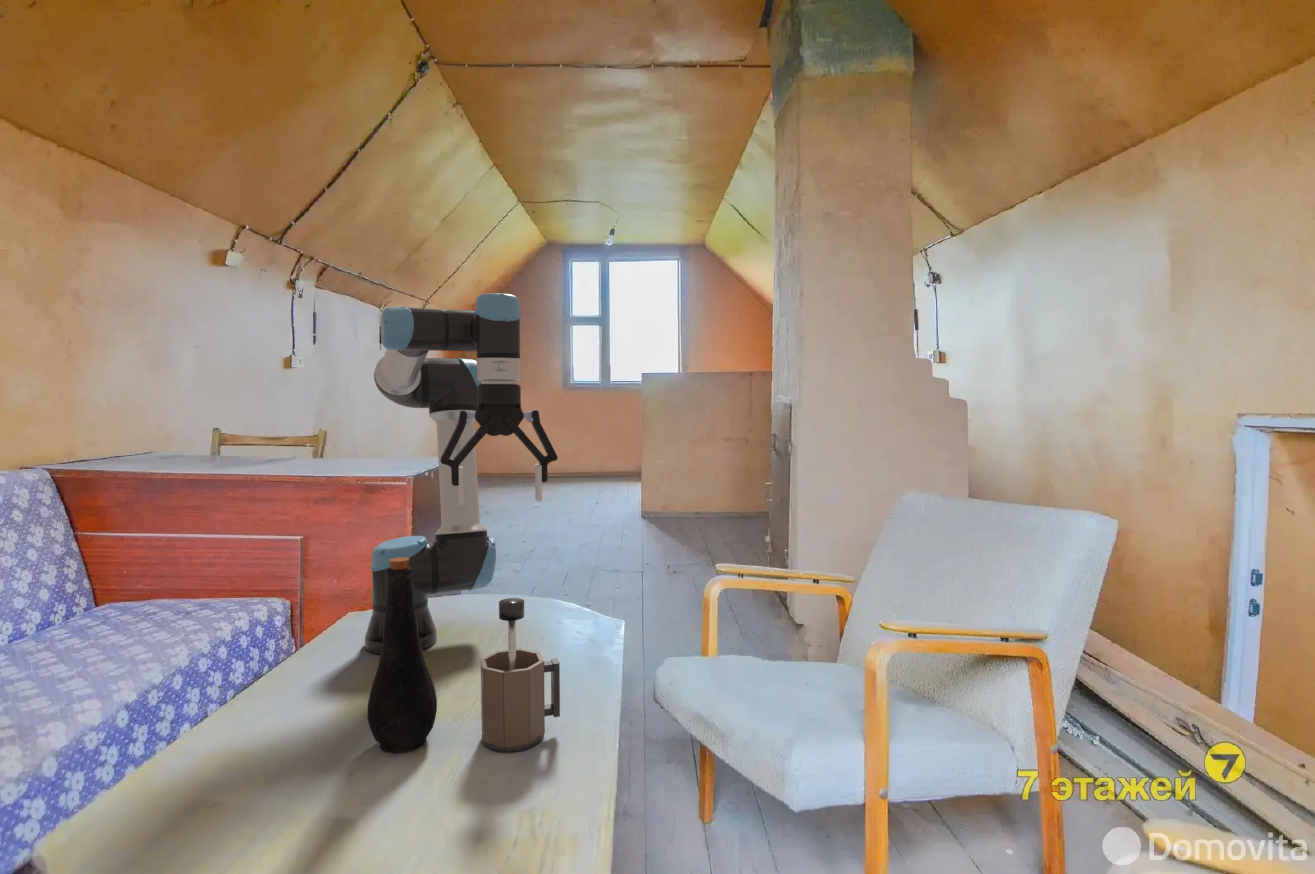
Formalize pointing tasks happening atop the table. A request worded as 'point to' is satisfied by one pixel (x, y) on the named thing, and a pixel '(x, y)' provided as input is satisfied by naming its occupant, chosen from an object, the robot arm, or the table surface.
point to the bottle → (401, 672)
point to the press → (516, 700)
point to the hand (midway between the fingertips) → (500, 502)
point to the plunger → (511, 624)
